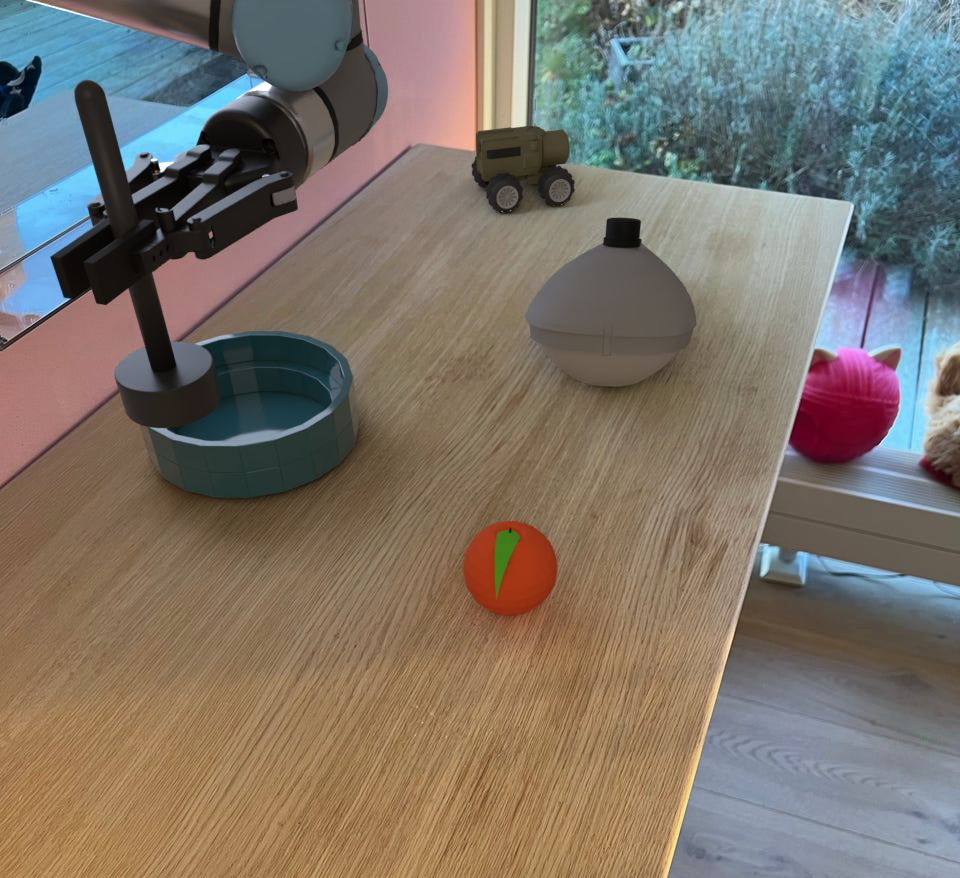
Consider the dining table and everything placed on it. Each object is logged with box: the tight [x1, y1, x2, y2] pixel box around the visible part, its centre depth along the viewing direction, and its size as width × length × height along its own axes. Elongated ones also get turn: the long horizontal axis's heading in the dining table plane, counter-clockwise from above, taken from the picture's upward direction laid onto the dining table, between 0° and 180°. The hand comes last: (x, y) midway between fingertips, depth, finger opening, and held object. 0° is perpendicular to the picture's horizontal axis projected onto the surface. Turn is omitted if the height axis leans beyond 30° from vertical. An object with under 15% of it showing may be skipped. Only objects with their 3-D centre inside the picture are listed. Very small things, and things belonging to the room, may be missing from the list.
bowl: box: [139, 330, 360, 499], centre depth 92 cm, size 19×19×6 cm
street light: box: [524, 217, 698, 388], centre depth 101 cm, size 30×16×14 cm, turn 171°
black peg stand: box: [73, 79, 221, 428], centre depth 69 cm, size 7×7×22 cm
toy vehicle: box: [471, 98, 576, 212], centre depth 127 cm, size 10×11×12 cm
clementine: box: [462, 520, 558, 617], centre depth 75 cm, size 8×7×7 cm
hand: (78, 280), depth 65 cm, fingers closed on black peg stand, 2 cm apart
